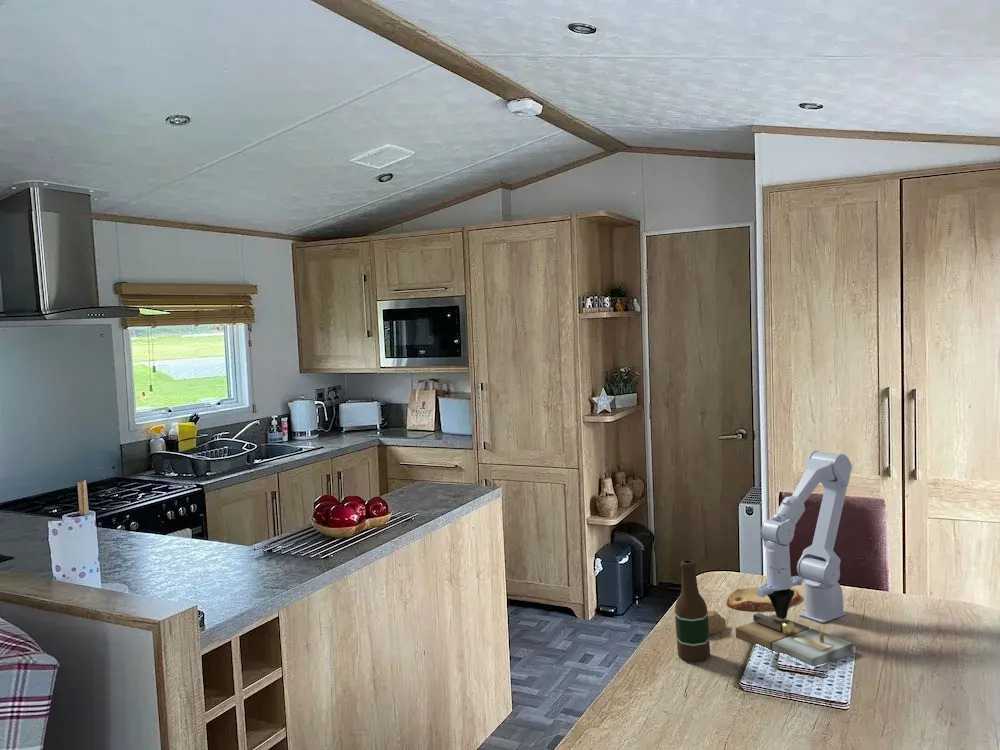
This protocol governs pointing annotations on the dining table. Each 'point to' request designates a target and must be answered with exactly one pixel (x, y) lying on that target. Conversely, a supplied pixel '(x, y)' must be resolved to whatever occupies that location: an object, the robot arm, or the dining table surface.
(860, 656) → the dining table surface
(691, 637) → the beer bottle
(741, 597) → the slice of bread
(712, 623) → the stone tool
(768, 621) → the bar
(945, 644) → the dining table surface
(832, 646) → the door mockup
